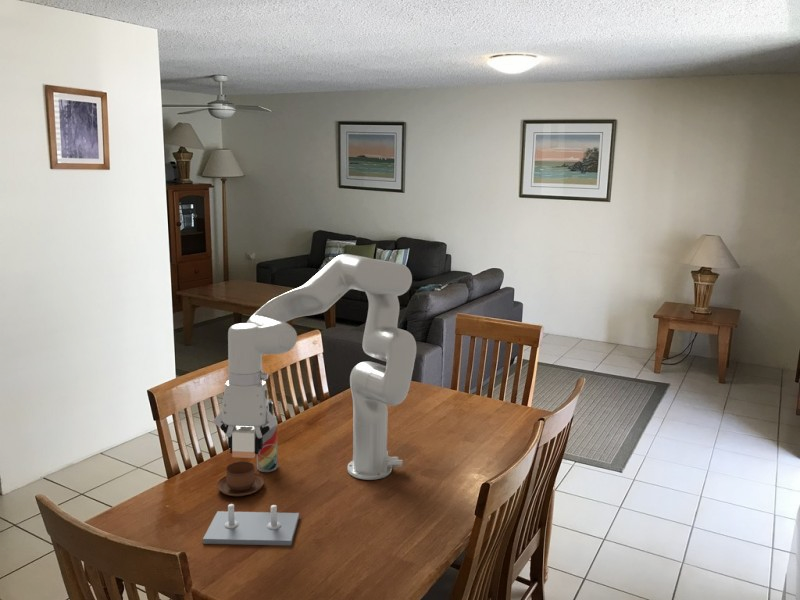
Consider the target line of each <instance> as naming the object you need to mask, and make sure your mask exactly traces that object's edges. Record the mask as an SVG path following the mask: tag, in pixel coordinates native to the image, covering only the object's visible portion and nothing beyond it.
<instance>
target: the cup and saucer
mask: <svg viewBox="0 0 800 600" xmlns="http://www.w3.org/2000/svg"><path fill="white" fill-rule="evenodd" d="M255 467H256V466H255V464H254V463H252V462H249V461H236V462H233V463H230V464H229V465H227V466H226V468H225V474H226V475H224V476H223V477H222V478H220V479H219V480H218V482H217V488H218V491H220V492H221V493H222V494H224V495H226V496H231V497H244V496H249V495H252V494H254V493H257V492H258V491H260V489H261V488H262V487H263V486H264V483H265V480H264V477H263V476H262V475H260V474H258V473H256V472H255V471H256V470H255V469H256V468H255Z"/></svg>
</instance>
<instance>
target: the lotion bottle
mask: <svg viewBox="0 0 800 600" xmlns="http://www.w3.org/2000/svg"><path fill="white" fill-rule="evenodd" d="M268 405H269V412H270V413H271V414H272V415H273V417H274V418H275V419H276V420H277V421H278V419H277V416H276V415H274V402H273V400H270V399H268ZM268 423H269V421H268V420H267V419H266V421H265V424H264V425H263V427H264V426H265V425H267V424H268ZM256 467H257V470H258V471H259V472H262V473H270V472H273V471H276V470H277V468H278V423H277V424H276V426H274V427H273V428H272V429H270V430H269V431H268V432H267V433H266V434H264V435H263V448H262V450H260V451H259V453H258V454H256Z"/></svg>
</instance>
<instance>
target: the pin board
mask: <svg viewBox="0 0 800 600" xmlns="http://www.w3.org/2000/svg"><path fill="white" fill-rule="evenodd" d="M277 510H278V506H277V505H276V504H272V505H270V512H268V511H267V512H266V511H235V504H233V503H230V504H228V505H227V511H223V510H221V511H220V510H217V511H216V513H215V515H214V517H213V518H212V521H211V523H210V525H209V526H208V528H207V530H206V532H205V534H204V536H203V538H202V544H205V545H206V544H207V545H208V544H209V545H249V546H250V545H252V546H259V545H260V546H292V545H293V540H294V537H295V534H296V530H297V526H298V523H299V520H300V512H278V511H277Z"/></svg>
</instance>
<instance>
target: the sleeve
mask: <svg viewBox="0 0 800 600" xmlns="http://www.w3.org/2000/svg"><path fill="white" fill-rule="evenodd" d="M255 438H256V432H255V429H254V426H236V427H235V429H234V431H233V432H232V453H231V454H232V456H231V458H243V459H245V458H246V459H254V458H255V457H256V456H257V454H255Z"/></svg>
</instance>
